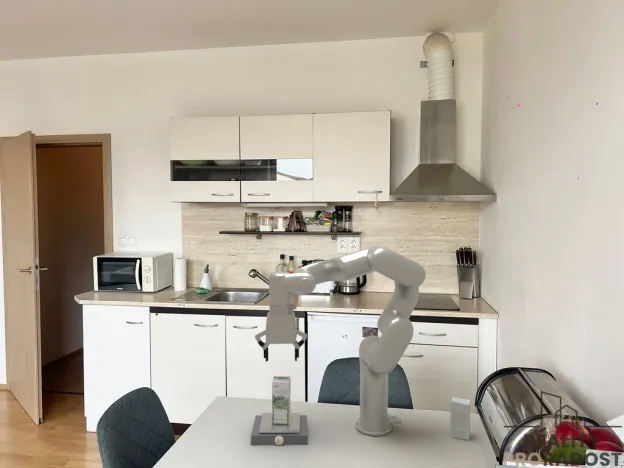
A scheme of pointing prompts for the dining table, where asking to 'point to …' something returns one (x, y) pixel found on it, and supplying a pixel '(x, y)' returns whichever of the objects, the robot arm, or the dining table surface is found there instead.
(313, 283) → the robot arm
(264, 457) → the dining table surface
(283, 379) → the syrup box
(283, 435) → the base
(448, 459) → the dining table surface
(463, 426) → the skincare box
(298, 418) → the pan
